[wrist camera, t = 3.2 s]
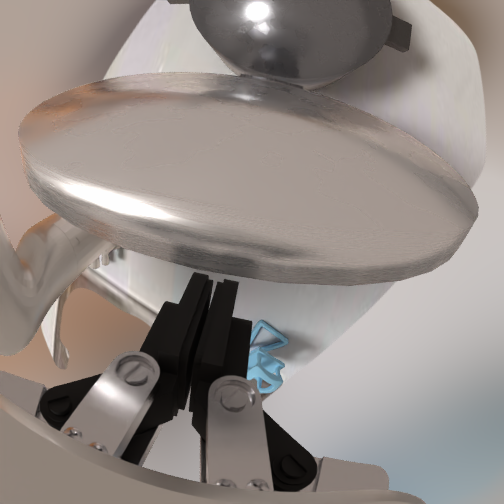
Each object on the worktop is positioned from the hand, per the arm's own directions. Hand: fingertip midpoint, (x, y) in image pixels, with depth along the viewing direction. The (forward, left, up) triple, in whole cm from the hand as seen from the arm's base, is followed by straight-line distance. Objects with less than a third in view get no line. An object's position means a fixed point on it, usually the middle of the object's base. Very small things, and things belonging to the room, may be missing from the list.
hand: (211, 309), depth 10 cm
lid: (+9, 0, -8) cm, 12 cm away
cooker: (+23, 0, -32) cm, 40 cm away
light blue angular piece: (-32, -8, -32) cm, 46 cm away
